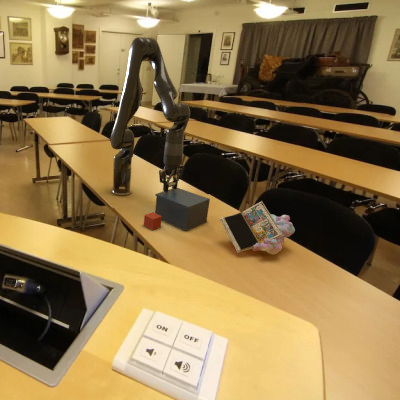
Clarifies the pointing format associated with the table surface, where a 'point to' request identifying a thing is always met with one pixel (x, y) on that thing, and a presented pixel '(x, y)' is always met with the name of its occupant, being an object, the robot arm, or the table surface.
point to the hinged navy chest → (182, 214)
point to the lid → (182, 197)
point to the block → (152, 221)
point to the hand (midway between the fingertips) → (169, 190)
